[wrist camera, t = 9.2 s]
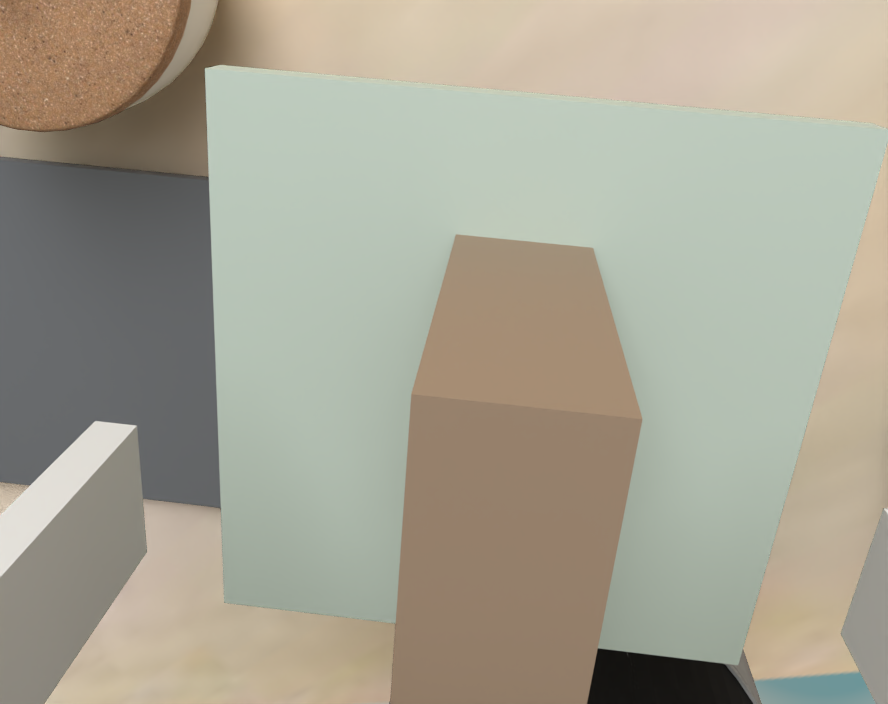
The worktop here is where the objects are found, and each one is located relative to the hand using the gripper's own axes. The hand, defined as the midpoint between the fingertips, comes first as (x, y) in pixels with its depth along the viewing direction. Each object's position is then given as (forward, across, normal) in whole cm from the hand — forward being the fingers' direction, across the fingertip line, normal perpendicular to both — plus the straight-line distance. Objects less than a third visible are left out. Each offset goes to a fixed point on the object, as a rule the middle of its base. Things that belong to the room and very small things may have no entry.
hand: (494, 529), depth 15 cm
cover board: (+6, 0, 0) cm, 6 cm away
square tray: (+21, -17, -7) cm, 28 cm away
